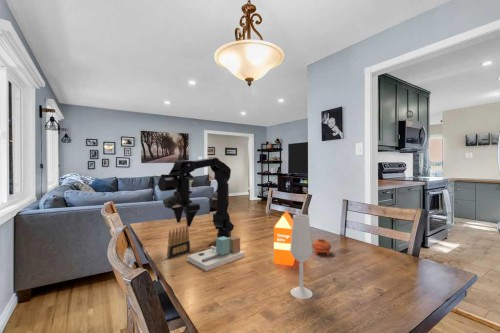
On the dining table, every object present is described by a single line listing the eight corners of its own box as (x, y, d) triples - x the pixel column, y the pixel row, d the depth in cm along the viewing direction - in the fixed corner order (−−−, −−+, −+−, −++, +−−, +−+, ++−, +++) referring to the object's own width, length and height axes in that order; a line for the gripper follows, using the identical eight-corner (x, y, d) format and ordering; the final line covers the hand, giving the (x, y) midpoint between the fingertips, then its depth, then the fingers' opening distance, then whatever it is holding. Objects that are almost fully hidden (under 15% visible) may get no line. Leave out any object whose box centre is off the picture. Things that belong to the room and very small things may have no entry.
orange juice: (296, 257, 102) (295, 211, 102) (292, 265, 94) (292, 215, 94) (278, 255, 104) (277, 210, 104) (273, 263, 96) (273, 214, 96)
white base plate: (224, 248, 113) (224, 232, 113) (244, 256, 103) (244, 238, 103) (187, 260, 99) (187, 241, 99) (206, 271, 89) (206, 249, 89)
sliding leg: (215, 248, 107) (215, 233, 107) (229, 253, 100) (229, 238, 100) (207, 250, 104) (207, 235, 104) (222, 256, 97) (221, 240, 97)
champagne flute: (288, 287, 77) (287, 213, 77) (308, 286, 77) (308, 213, 77) (293, 299, 70) (293, 218, 70) (315, 298, 70) (315, 217, 70)
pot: (334, 252, 107) (333, 238, 106) (327, 261, 102) (326, 246, 101) (318, 247, 113) (317, 234, 112) (310, 255, 107) (308, 242, 106)
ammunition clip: (169, 258, 102) (169, 230, 102) (167, 257, 103) (167, 230, 103) (190, 251, 110) (190, 225, 110) (187, 250, 111) (187, 225, 111)
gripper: (156, 189, 105) (156, 224, 105) (175, 192, 91) (175, 232, 92) (179, 187, 113) (179, 219, 113) (200, 189, 99) (200, 227, 99)
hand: (183, 224), depth 104 cm, fingers open, 9 cm apart
